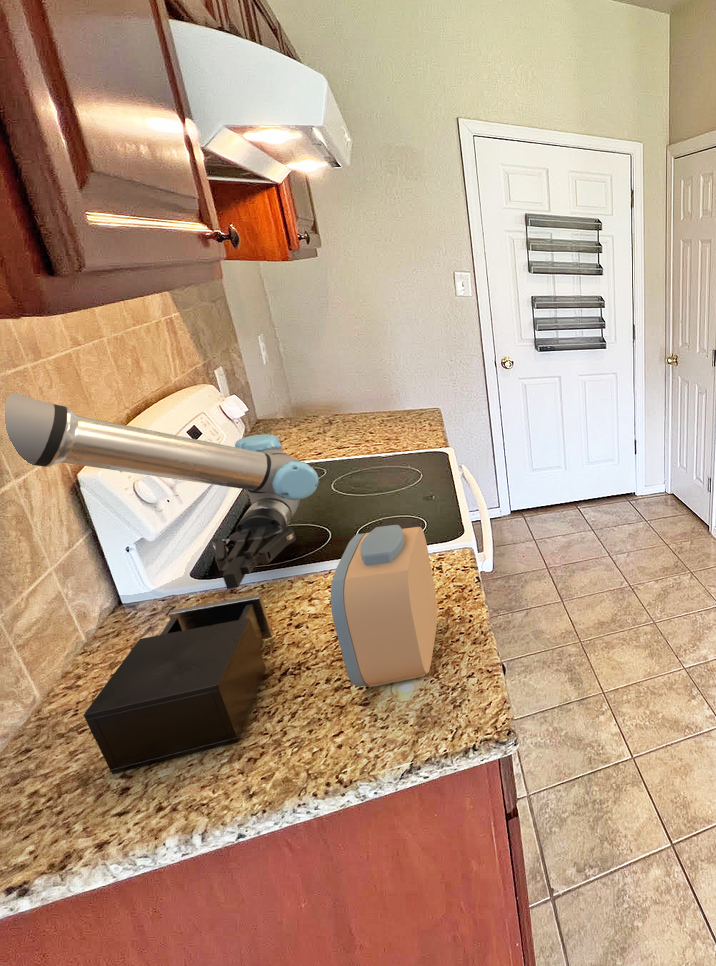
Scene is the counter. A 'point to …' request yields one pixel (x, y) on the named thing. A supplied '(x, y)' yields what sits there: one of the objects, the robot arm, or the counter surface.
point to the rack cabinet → (178, 695)
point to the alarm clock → (385, 606)
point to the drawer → (223, 616)
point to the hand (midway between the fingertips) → (230, 581)
